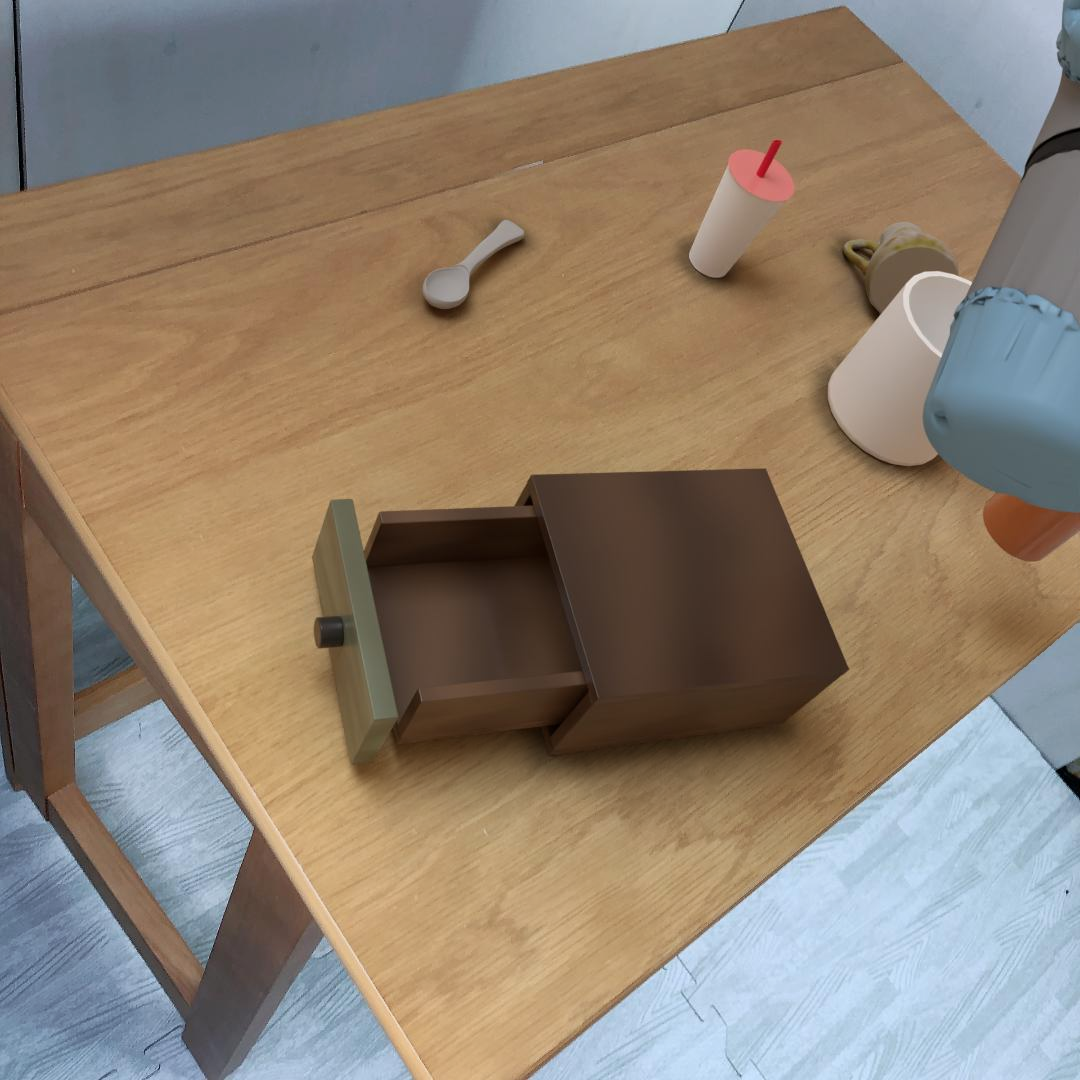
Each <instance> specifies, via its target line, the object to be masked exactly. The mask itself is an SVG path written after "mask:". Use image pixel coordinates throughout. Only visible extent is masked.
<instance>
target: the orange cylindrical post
mask: <svg viewBox="0 0 1080 1080" xmlns="http://www.w3.org/2000/svg"><path fill="white" fill-rule="evenodd" d="M982 520H983V523H984V527H985V529H986V532H988V534H989V536H990V537H991V539H992V540H993V541H994V543H995V544H996V545H997V546H998V547H999V548H1000V549H1001V550H1002V551H1004V552H1005V553H1007V554H1008V555H1010V556H1011V557H1013V558H1015V559H1017V560H1020V561H1022V562H1023V561H1024V562H1028V563H1034V562H1035V563H1036V562H1039V561H1042V560H1044V559H1045V558H1046V557H1048V556H1049V555H1050V554H1051V553H1053V552H1054V551H1056V550H1057V549H1058V548H1059V547H1061V546H1062V545H1064V544H1065V543H1066V542H1067V541H1069V540H1070V539H1071V538H1073V537H1074V536H1075V535H1076V534H1078V533H1079V532H1080V513H1074V512H1064V511H1057V510H1051V509H1046V508H1041V507H1038V506H1034V505H1030V504H1028V503H1026V502H1024V501H1023V500H1021V499H1020V498H1018V497H1015V496H1012V495H1008V494H1002V493H996V492H995V494H993V495H992V496H991V497H990V498H989V499H988V500H987V501H986V502H985V504H984V505H983V509H982Z"/></svg>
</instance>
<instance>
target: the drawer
mask: <svg viewBox="0 0 1080 1080" xmlns="http://www.w3.org/2000/svg"><path fill="white" fill-rule="evenodd" d="M362 541H363V540H362V536H361V531H360V527H359V522H358V518H357V512H356V508H355V504H354V499H353V498H339V499H335V498H334V499H330V500H329V504H328V507H327V509H326V513H325V516H324V519H323V522H322V525H321V528H320V531H319V534H318V537H317V540H316V543H315V546H314V550H313V552H312V555H311V559H312V565H313V571H314V577H315V581H316V586H317V587H316V588H317V592H318V597H319V601H320V602H319V603H320V608H321V615H322V616H318V617H316V618H315V619H314V622H313V638H314V642H315V645H316V648H317V649H319V650H323V649H328V651H329V657H330V661H331V662H330V663H331V667H332V672H333V678H334V684H335V689H336V694H337V700H338V706H339V711H340V716H341V722H342V727H343V731H344V737H345V742H346V749H347V753H348V754H347V755H348V758H349V764H350V766H357V765H366V764H372V763H374V761H375V760H376V758H377V757H378V755H379V753H380V751H381V749H382V747H384V744H385V742H386V740H387V739H388V737H389V735H390V733H391V731H392V730H393V733H394V737H395V742H396V744H397V745H403V744H409V743H418V742H419V743H420V742H426V741H434V740H441V739H442V740H444V739H449V738H450V739H451V738H459V737H467V736H475V735H482V734H491V733H499V732H507V731H515V730H522V729H531V728H539V727H540V728H541V726H548V725H556V724H562V723H563V722H564V720H565V719H566V718H567V717H568V716H569V715H570V713H571V712H572V711H573V710H574V709H575V707H576V706H577V705H578V704H579V703H580V702H581V700H582V699H583V698H584V697H585V696H586V694H587V693H588V692H589V690H588V687H587V684H586V680H585V677H584V674H583V670H582V667H581V663H580V660H579V657H578V653H577V650H576V647H575V643H574V640H573V636H572V633H571V630H570V626H569V623H568V620H567V616H566V613H565V609H564V606H563V603H562V599H561V596H560V593H559V589H558V586H557V582H556V579H555V576H554V572H553V569H552V566H551V562H550V559H549V555H548V552H547V549H546V545H545V542H544V539H543V535H542V532H541V528H540V525H539V522H538V518H537V515H536V512H535V508H534V505H532V506H514V505H513V506H512V505H511V506H510V505H509V506H508V505H507V506H486V507H485V506H484V507H482V506H481V507H461V508H460V507H459V508H458V507H456V508H437V509H436V508H435V509H410V510H409V509H408V510H383V511H382V510H381V511H379V512H378V514H377V516H376V519H375V521H374V523H373V526H372V529H371V531H370V534H369V537H368V539H367V541H366V544H365V547H364V546H363V542H362Z"/></svg>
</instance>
